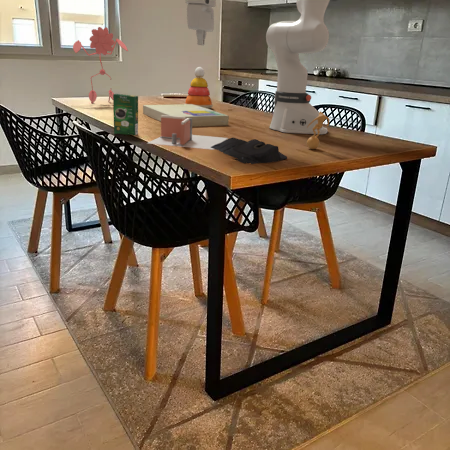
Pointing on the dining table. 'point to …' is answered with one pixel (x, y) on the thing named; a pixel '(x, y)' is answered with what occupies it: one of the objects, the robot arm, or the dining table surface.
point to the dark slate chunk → (250, 151)
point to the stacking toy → (199, 91)
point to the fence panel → (185, 131)
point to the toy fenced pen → (196, 141)
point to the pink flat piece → (173, 125)
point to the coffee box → (125, 114)
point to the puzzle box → (187, 114)
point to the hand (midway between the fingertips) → (201, 45)
